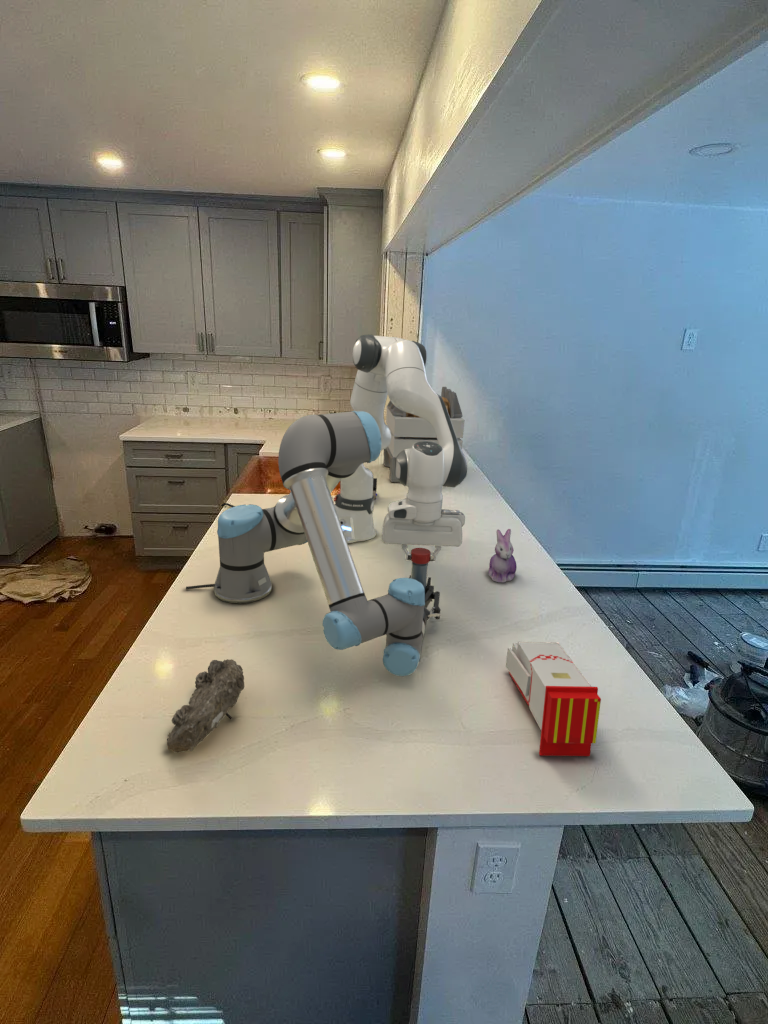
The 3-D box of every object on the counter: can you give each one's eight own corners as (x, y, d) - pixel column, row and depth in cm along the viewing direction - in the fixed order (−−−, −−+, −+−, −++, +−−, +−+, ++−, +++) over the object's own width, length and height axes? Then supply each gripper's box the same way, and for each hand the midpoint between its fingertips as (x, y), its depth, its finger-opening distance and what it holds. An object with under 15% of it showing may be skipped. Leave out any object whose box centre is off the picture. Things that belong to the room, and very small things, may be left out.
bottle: (414, 606, 152) (418, 549, 146) (427, 611, 149) (432, 554, 144) (405, 611, 149) (409, 554, 143) (418, 617, 146) (422, 559, 141)
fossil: (192, 660, 117) (244, 628, 112) (224, 691, 120) (276, 661, 115) (142, 746, 98) (202, 712, 93) (182, 779, 101) (242, 748, 96)
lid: (412, 555, 147) (412, 546, 146) (431, 557, 146) (432, 548, 145) (408, 562, 142) (409, 553, 141) (428, 565, 141) (429, 556, 141)
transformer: (382, 463, 289) (386, 382, 275) (445, 464, 293) (451, 384, 279) (390, 482, 257) (394, 392, 243) (460, 483, 261) (468, 394, 247)
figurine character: (377, 508, 228) (376, 492, 242) (377, 490, 225) (377, 476, 238) (360, 507, 228) (361, 492, 242) (360, 490, 225) (361, 475, 238)
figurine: (500, 586, 164) (506, 538, 159) (479, 572, 173) (484, 526, 168) (525, 580, 169) (532, 534, 164) (503, 567, 177) (509, 522, 172)
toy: (554, 624, 127) (610, 694, 97) (548, 679, 130) (602, 763, 100) (500, 623, 126) (541, 693, 97) (496, 678, 129) (534, 763, 100)
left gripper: (371, 634, 133) (387, 589, 154) (445, 644, 130) (451, 597, 152) (372, 606, 130) (389, 564, 152) (448, 615, 128) (453, 571, 149)
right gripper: (464, 506, 142) (459, 556, 147) (382, 502, 142) (380, 553, 147) (467, 514, 137) (462, 566, 141) (382, 511, 136) (380, 563, 141)
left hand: (420, 580), depth 152 cm, fingers closed on bottle, 4 cm apart
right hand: (420, 560), depth 144 cm, fingers closed on lid, 5 cm apart
